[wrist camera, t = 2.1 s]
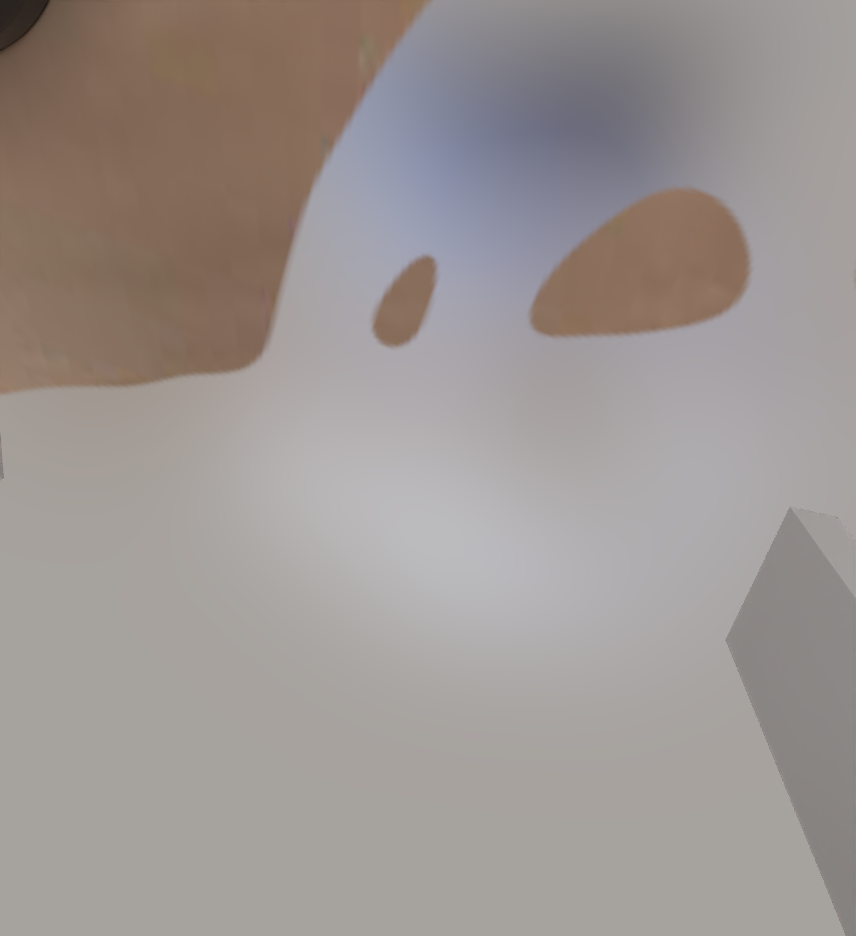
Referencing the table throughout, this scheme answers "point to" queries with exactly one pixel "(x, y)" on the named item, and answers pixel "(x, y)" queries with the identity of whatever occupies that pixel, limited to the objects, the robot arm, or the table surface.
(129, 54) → the table surface
